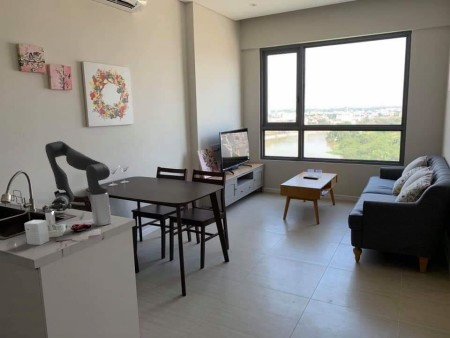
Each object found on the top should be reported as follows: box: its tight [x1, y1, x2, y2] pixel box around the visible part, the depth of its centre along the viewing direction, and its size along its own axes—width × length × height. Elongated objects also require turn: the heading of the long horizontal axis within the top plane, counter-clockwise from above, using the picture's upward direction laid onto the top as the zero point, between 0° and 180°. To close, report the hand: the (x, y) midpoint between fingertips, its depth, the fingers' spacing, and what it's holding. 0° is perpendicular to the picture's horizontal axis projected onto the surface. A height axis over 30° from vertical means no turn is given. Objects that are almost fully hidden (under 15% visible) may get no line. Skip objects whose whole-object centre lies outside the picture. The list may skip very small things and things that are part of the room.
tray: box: [48, 223, 66, 239], centre depth 176 cm, size 11×11×3 cm
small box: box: [23, 219, 50, 246], centre depth 164 cm, size 8×6×10 cm
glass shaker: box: [44, 208, 57, 231], centre depth 175 cm, size 4×4×12 cm
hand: (54, 210), depth 186 cm, fingers open, 8 cm apart
